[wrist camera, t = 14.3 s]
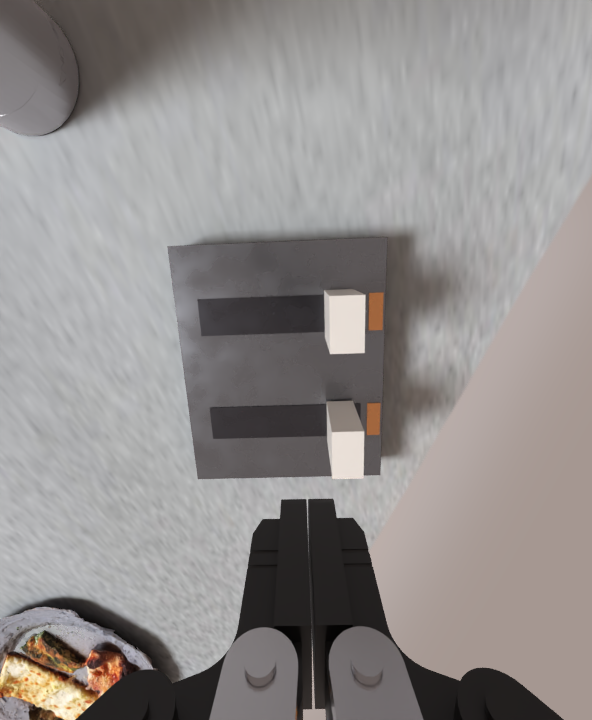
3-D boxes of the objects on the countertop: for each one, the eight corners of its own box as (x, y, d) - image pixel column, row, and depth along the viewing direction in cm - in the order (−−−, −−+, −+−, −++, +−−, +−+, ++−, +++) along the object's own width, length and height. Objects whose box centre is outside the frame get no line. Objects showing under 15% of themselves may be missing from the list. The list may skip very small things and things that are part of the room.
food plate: (201, 667, 45) (192, 699, 42) (114, 753, 50) (100, 788, 47) (32, 566, 42) (8, 592, 39) (-40, 670, 47) (-68, 701, 44)
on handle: (324, 336, 30) (330, 354, 24) (323, 290, 29) (329, 296, 23) (352, 335, 30) (364, 353, 24) (352, 288, 29) (365, 294, 23)
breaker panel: (206, 462, 37) (197, 479, 34) (180, 248, 31) (166, 246, 28) (374, 458, 36) (380, 475, 33) (379, 239, 31) (387, 236, 28)
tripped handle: (327, 440, 32) (332, 479, 27) (326, 401, 31) (331, 432, 26) (352, 440, 32) (363, 478, 27) (352, 400, 31) (364, 431, 25)
